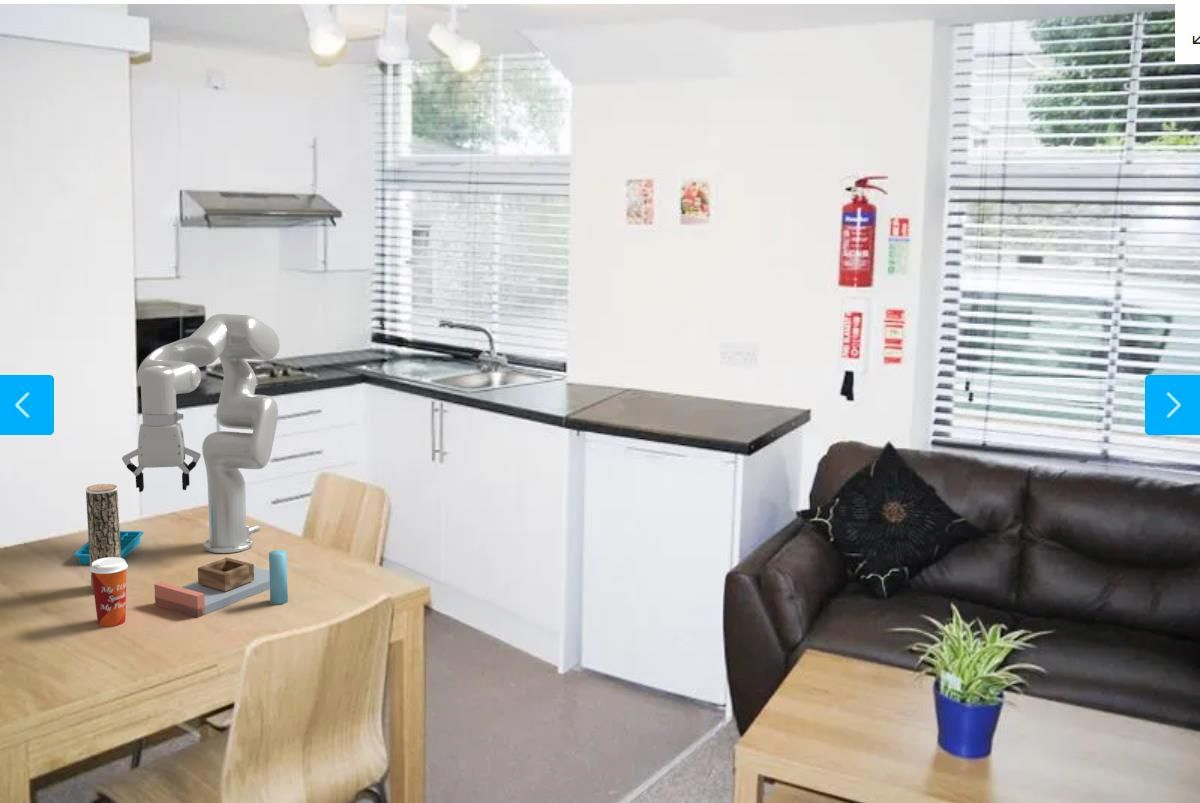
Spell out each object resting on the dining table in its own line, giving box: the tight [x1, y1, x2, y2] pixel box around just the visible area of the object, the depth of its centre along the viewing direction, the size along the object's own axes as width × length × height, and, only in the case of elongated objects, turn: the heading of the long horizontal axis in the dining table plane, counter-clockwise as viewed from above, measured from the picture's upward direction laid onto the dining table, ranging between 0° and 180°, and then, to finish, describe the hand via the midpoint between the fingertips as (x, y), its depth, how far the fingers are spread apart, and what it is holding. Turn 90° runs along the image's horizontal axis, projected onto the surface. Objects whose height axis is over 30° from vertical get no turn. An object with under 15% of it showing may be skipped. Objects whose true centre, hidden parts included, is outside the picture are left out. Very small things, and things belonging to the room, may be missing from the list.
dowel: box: [268, 549, 289, 606], centre depth 260 cm, size 4×4×12 cm
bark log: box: [85, 483, 121, 591], centre depth 263 cm, size 7×7×25 cm
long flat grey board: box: [153, 566, 270, 618], centre depth 264 cm, size 27×14×5 cm, turn 151°
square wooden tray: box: [197, 557, 255, 591], centre depth 265 cm, size 9×9×4 cm
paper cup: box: [89, 557, 129, 628], centre depth 244 cm, size 8×8×14 cm
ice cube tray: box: [74, 530, 144, 565], centre depth 290 cm, size 12×20×3 cm, turn 5°
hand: (163, 489), depth 262 cm, fingers open, 9 cm apart
